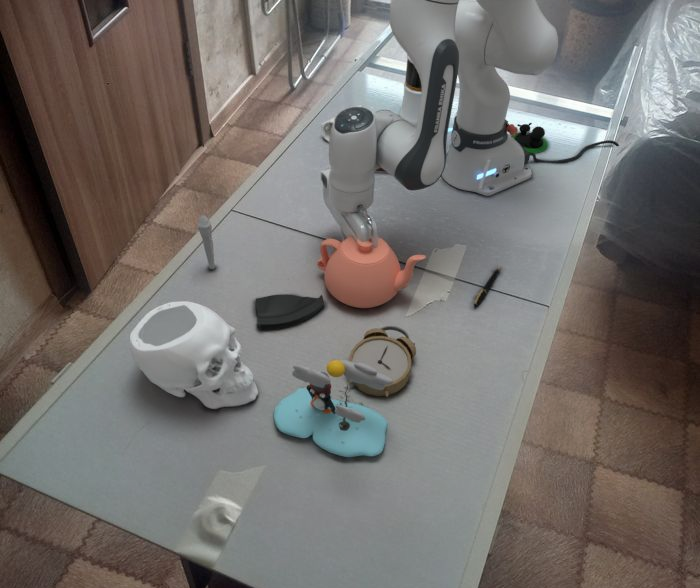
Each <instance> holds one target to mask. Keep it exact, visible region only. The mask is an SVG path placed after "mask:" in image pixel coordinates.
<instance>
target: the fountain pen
mask: <svg viewBox="0 0 700 588" xmlns="http://www.w3.org/2000/svg"><path fill="white" fill-rule="evenodd" d="M500 270H501V265H499V266H498V267H497V268H496V269H495V271H494V272H493V273H492V275H491V276H490V277H489V279H488V280H487V282H486V283H485V285H484V286H483V288H482V289H480V291H479V293H478V295H477V296H476V298H475V300H474V303H473V307H474V308H476V307H478V305H480V304H481V302H482V301H483V300H484V298H485V297H486V295H487V294H488V292H489V290H490V288H491V287H492V285H493V283H494V281H495V280H496V279H497V276H498V275H499V273H500Z"/></svg>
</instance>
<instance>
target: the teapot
mask: <svg viewBox="0 0 700 588" xmlns="http://www.w3.org/2000/svg"><path fill="white" fill-rule="evenodd" d="M357 243H358V245H357ZM357 243H356V242H355V240H354V239H353V237H352V236H350V237H348V238H347V239H345V240H344V241H343V240H342V242H341V241H339V240H338V239H335V238H326V239H324V240H323V241H322V242H321V244H320V247H319V250H320V256H321V257H320V258H319V259H318V260H317V262H316V265H317V268H318V269H320V270H321V271H324V284H325V286H326V288H327V290H328V292H329V293H330V295H331V296H333V297H334V298H335V299H336V300H338V301H339V302H341V303H343V304H345V305H347V306H349V307H352V308H358V309H370V308H376V307H378V306H381V305H383V304H385V303H388V302H389V301H391V300H392V299H393V298H394V297H396V295H397V294H398V292H399V291H400V290H403V289H405V288H406V287H407V286H408V285H409V283H411V281H412V278H413V274H414V269H415V266H416V264H418V262H420V261H423V260H424V259H426V255H424V254H415V255H412V256H410V257H409V258H408V259H407V260H406V263H405V267H404V269H401V268H402V267H401V264H400V261H399V258H398V257H397V255H396V254H395V251H394V250H393V249H392V248H391V246H390V245H389V244H388V243H387V242H386V241H385V240H384V239H383V238H381V237H380V236H378V247H376V248H372V249H371V247H372V245H373V243H374V241H373V240H370V241H365V242H361V241H360V240H359V238H358V240H357ZM327 246H329V247H333V248H334V250H333V252H331V254H330V255H329V253H328V248H327Z"/></svg>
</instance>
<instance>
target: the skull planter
mask: <svg viewBox="0 0 700 588" xmlns="http://www.w3.org/2000/svg"><path fill="white" fill-rule="evenodd" d="M235 334H236V329H235V328H234V327H233V326H231V325H229V324H228V323H227V322H226V321H225V320H224V319H223V317H221V316H220V315H219V314H217V313H216V312H215V311H214V310H212V309H210V308H209V307H207V306H205V305H202V304H200V303H197V302H192V301H187V300H186V301H185V300H184V301H182V300H181V301H171V302H167V303H164V304H162V305H159V306H157V307H155V308H153V309H151V310H150V311H148V312H147V313H146V314H145V315H144V317H142V318H141V320H139V322H138V323H137V324H136V326H135V327H134V328H133V329H132V331H131V332H130V335H129V351H130V355H131V357H132V358H133V360H134V362H135V364H136V365H137V366H138V368H139V369H140V370H141V372H142V373H143V374H144V375H145V376H146V378H147V379H148V380H149V382H151V383H153V384H154V385H156V386H157V387H159V388H160V389H162V390H163V391H165V392H166V393H168V394H171V395H173V396H175V397H176V398H185V396H186V395H187V394H186V393H190V394H191V395H193V396H194V397H196V398H197V399H199V401H200V402H201V403H202V404H203V405H204V406H205V407H206V408H207V409H211V410H217V409H220V408H224V407H225V408H227V407H238V406H242V405H246V404H248V403H250V402H253V401H255V400H256V398H257V396H258V395H259V390H258V387H257V385H256V382H255V381H254V379H255V376H254V374H253V371H252V370H251V369H250V367H248V366H247V365H245V364H244V363H243V362H242V356H243V354H244V353H243V352H244V351H243V347H242V345H241V343H240V342H239V341H238V340H237V338H236V335H235ZM215 367H216V369H215V370H214V369H213V368H215ZM200 382H201V384H199V383H200ZM198 384H199V385H198ZM196 385H197V386H196ZM218 389H219V391H216V390H218ZM185 391H186V392H185ZM214 391H216V392H214Z"/></svg>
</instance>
